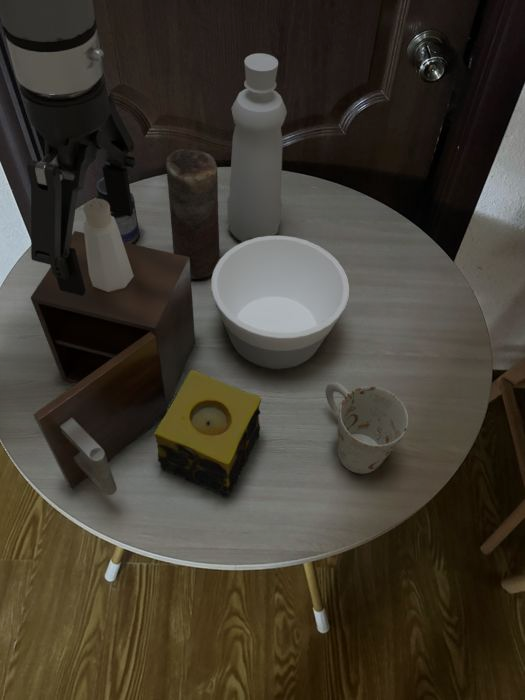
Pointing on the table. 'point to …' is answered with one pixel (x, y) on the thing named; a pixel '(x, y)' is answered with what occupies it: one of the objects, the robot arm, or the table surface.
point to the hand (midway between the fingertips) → (98, 249)
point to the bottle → (256, 152)
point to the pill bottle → (121, 216)
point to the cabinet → (120, 314)
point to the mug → (367, 425)
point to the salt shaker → (105, 248)
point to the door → (104, 414)
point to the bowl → (279, 298)
